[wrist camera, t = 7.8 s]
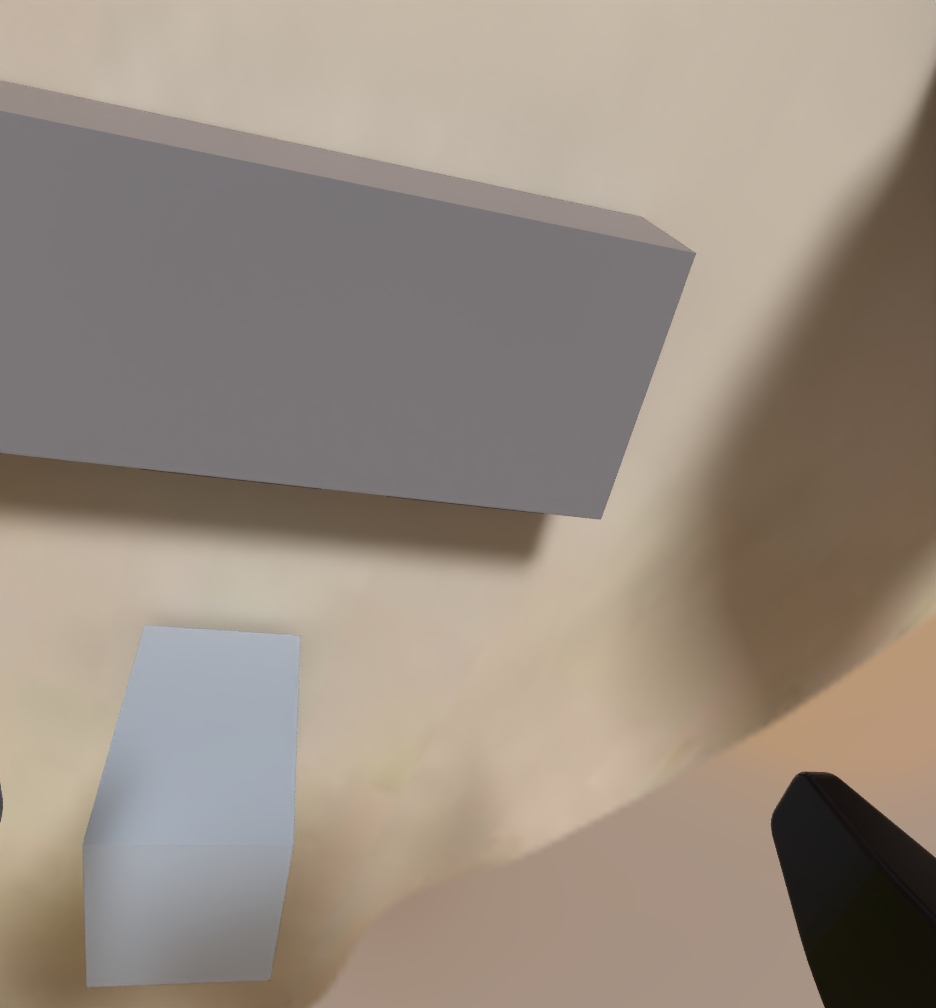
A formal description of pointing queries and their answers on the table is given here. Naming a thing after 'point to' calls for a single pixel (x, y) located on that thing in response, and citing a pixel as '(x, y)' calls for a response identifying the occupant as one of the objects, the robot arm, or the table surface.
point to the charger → (194, 812)
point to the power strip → (315, 314)
